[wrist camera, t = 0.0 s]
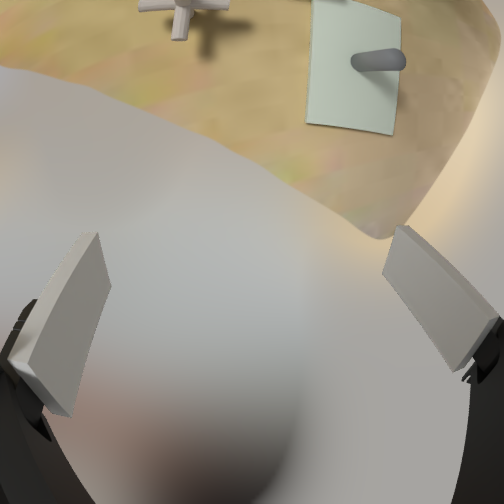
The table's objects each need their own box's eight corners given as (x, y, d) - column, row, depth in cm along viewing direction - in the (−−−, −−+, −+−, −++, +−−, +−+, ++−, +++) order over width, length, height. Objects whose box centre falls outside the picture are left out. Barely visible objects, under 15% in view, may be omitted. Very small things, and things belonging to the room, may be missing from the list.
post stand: (311, -8, 25) (341, -31, 16) (397, 18, 27) (439, 10, 18) (304, 122, 35) (334, 132, 27) (389, 134, 37) (430, 149, 29)
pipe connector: (230, -15, 23) (238, -47, 15) (222, 47, 29) (227, 31, 20) (154, -15, 22) (137, -44, 13) (144, 48, 27) (122, 34, 18)
